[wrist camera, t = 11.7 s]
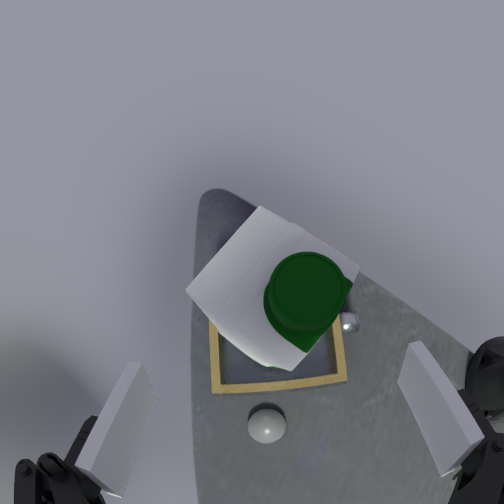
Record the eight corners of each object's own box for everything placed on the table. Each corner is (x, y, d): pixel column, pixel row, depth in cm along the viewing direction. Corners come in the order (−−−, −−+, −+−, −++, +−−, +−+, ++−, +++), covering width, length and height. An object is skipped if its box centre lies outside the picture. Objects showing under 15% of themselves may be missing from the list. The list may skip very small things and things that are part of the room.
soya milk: (281, 380, 29) (295, 388, 11) (221, 335, 32) (156, 278, 14) (324, 321, 32) (384, 248, 14) (264, 281, 35) (255, 172, 17)
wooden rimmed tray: (341, 273, 40) (354, 251, 33) (357, 378, 33) (376, 378, 26) (215, 285, 41) (204, 265, 34) (220, 393, 34) (208, 397, 27)
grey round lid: (284, 406, 33) (284, 407, 31) (286, 439, 30) (287, 441, 29) (247, 409, 33) (246, 410, 32) (249, 442, 30) (249, 444, 29)
